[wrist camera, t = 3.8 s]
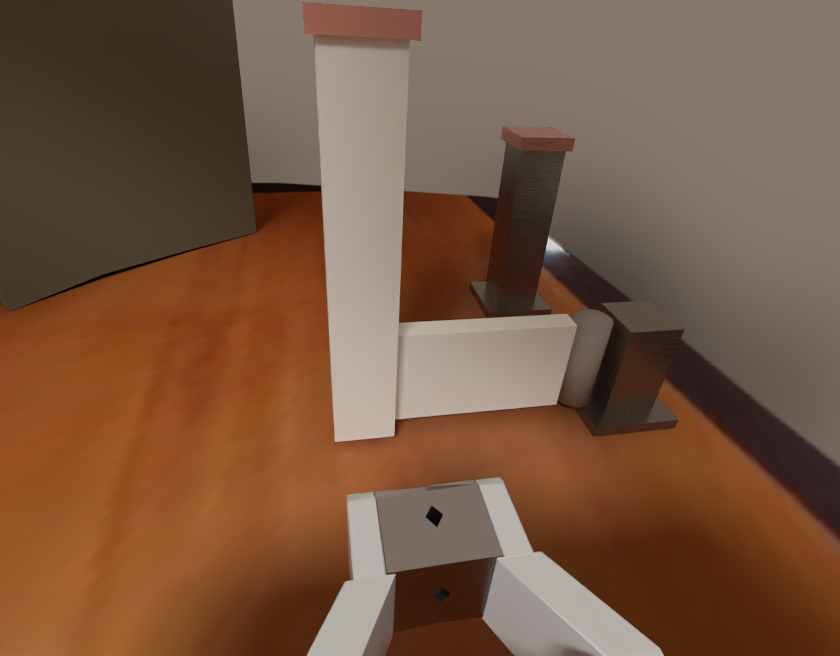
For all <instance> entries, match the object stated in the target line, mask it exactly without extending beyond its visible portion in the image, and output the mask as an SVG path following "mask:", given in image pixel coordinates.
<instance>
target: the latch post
mask: <svg viewBox="0 0 840 656" xmlns="http://www.w3.org/2000/svg"><path fill="white" fill-rule="evenodd" d="M501 139H503V140H504V141H506V148H505V155H504V162H503V169H502V176H501V183H500V190H499V197H498V204H497V211H496V218H495V225H494V232H493V239H492V246H491V253H490V260H489V267H488V274H487V281H482V282H470V290H471V292H472V293H473V295H474V297H475V298H476V300H477V302H478V303H479V305H480V307H481V309H482V310H483V312H484V314H485V315H486V317H487V318H499V317H517V316H536V315H550V314H551V310H552V309H551V308H550V307H549V305H548V304H547V303H546V302H545V301H544V299H543V298H542V297H541V296H540V295H539V293H538V292H537V288H538V283H539V278H540V274H541V269H542V264H543V259H544V254H545V250H546V245H547V240H548V235H549V230H550V225H551V221H552V216H553V211H554V206H555V201H556V196H557V192H558V186H559V182H560V177H561V172H562V167H563V163H564V158H565V153H566V151H573V146H574V141H575V138H573V137H571V136H569V135H567V134H565V133H562V132H560V131H558V130H556V129H554V128H550V127H508V126H503V129H502V136H501Z"/></svg>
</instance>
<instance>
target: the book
mask: <svg viewBox="0 0 840 656" xmlns="http://www.w3.org/2000/svg"><path fill="white" fill-rule="evenodd" d="M245 127H246V126H245V117H244V108H243V99H242V88H241V78H240V69H239V59H238V50H237V40H236V30H235V21H234V12H233V2H232V0H0V301H1V303H2V305H3V306H4V307H5V308H6V309H7V310H9V311H12V310H15V309H17V308H20V307H22V306H25V305H27V304H30V303H32V302H35V301H37V300H40V299H42V298H45V297H47V296H50V295H52V294H55V293H57V292H60V291H62V290H65V289H67V288H70V287H72V286H75V285H77V284H80V283H82V282H85V281H87V280H90V279H92V278H95V277H98V276H100V275H103V274H106V273H110V272H113V271H117V270H120V269H124V268H127V267H131V266H134V265H138V264H141V263H145V262H148V261H152V260H155V259H159V258H162V257H166V256H169V255H173V254H176V253H180V252H184V251H187V250H191V249H195V248H198V247H202V246H206V245H210V244H214V243H218V242H221V241H225V240H229V239H233V238H237V237H240V236H244V235H248V234H252V233H256V222H255V213H254V203H253V193H252V184H251V174H250V165H249V156H248V146H247V136H246V128H245Z"/></svg>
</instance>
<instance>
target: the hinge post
mask: <svg viewBox="0 0 840 656" xmlns="http://www.w3.org/2000/svg"><path fill="white" fill-rule="evenodd" d="M600 311H601V312H603V313H605V314H607V315H608V316H610V317H611V318H612V320H613V322H614V323H613V327H612V330H611V333H610V336H609V339H608V342H607V346H606V349H605V352H604V355H603V358H602V362H601V365H600V368H599V371H598V374H597V377H596V381H595V384H594V387H593V390H592V393H591V397H590V400H589V403H588V404H587V405H586V406H583V407H574V408H575V410H576V411H577V413H578V414H579V416H580V417H581V418H582V420H583V421H584V423H585V424H586V426H587V427H588V429H589V430H590V432H591V433H592V435H593V436H603V435H612V434H621V433H630V432H640V431H649V430H658V429H668V428H675V426H676V424H677V422H678V419H677V418H676V417H675V416H674V415H673V413H672V412H671V411H670V410H669V409H668V408H667V407H666V406H665V405H664V404H663V403H662V401H661V400H660V399H659V398H658V397H657V395H658V393H659V391H660V388H661V386H662V383H663V381H664V378H665V376H666V373H667V371H668V368H669V366H670V364H671V361H672V359H673V356H674V354H675V351H676V349H677V346H678V344H679V342H680V339H681V337H682V334H683V332H684V329H683V328H682V327H681V326H680V325H679V324H678V323H676V322H675V321H674V320H673V319H672V318H670V317H669V316H668V315H667V314H665V313H664V312H663V311H662V310H661V309H660V308H658V307H657V306H656V305H655V304H653V303H652V302H651V301H636V302H616V303H602V304H601V307H600Z"/></svg>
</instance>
